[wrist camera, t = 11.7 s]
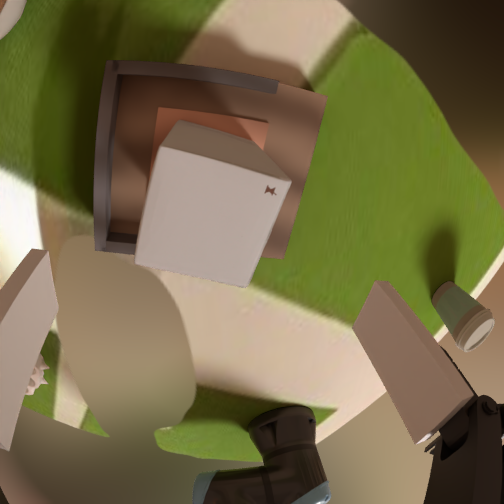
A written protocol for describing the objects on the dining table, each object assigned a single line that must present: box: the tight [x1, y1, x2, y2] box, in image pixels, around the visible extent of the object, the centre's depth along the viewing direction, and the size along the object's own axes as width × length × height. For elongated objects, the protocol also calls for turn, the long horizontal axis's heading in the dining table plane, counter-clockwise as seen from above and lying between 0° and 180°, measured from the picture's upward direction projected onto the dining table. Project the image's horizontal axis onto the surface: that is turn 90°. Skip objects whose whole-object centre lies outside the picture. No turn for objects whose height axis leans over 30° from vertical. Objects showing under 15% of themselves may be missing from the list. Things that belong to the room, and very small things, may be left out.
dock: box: [94, 60, 328, 259], centre depth 27 cm, size 18×20×5 cm
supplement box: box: [134, 120, 291, 288], centre depth 21 cm, size 7×7×13 cm
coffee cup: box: [432, 281, 495, 352], centre depth 42 cm, size 8×8×12 cm
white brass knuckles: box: [25, 353, 49, 395], centre depth 38 cm, size 3×18×15 cm
